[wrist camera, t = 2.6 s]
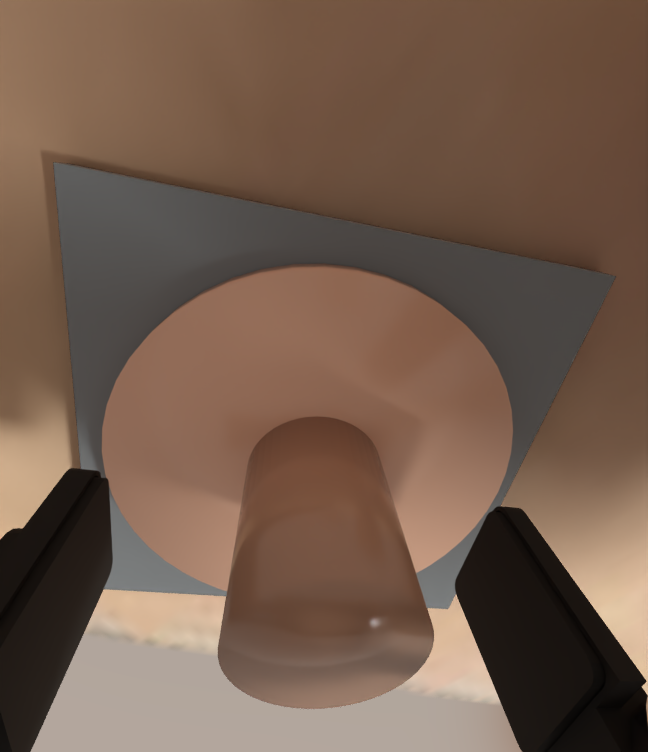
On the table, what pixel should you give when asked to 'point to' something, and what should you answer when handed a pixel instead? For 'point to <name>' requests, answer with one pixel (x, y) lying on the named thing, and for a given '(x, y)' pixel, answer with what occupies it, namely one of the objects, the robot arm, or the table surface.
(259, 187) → the table surface
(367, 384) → the lid
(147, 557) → the mat
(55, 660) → the robot arm
